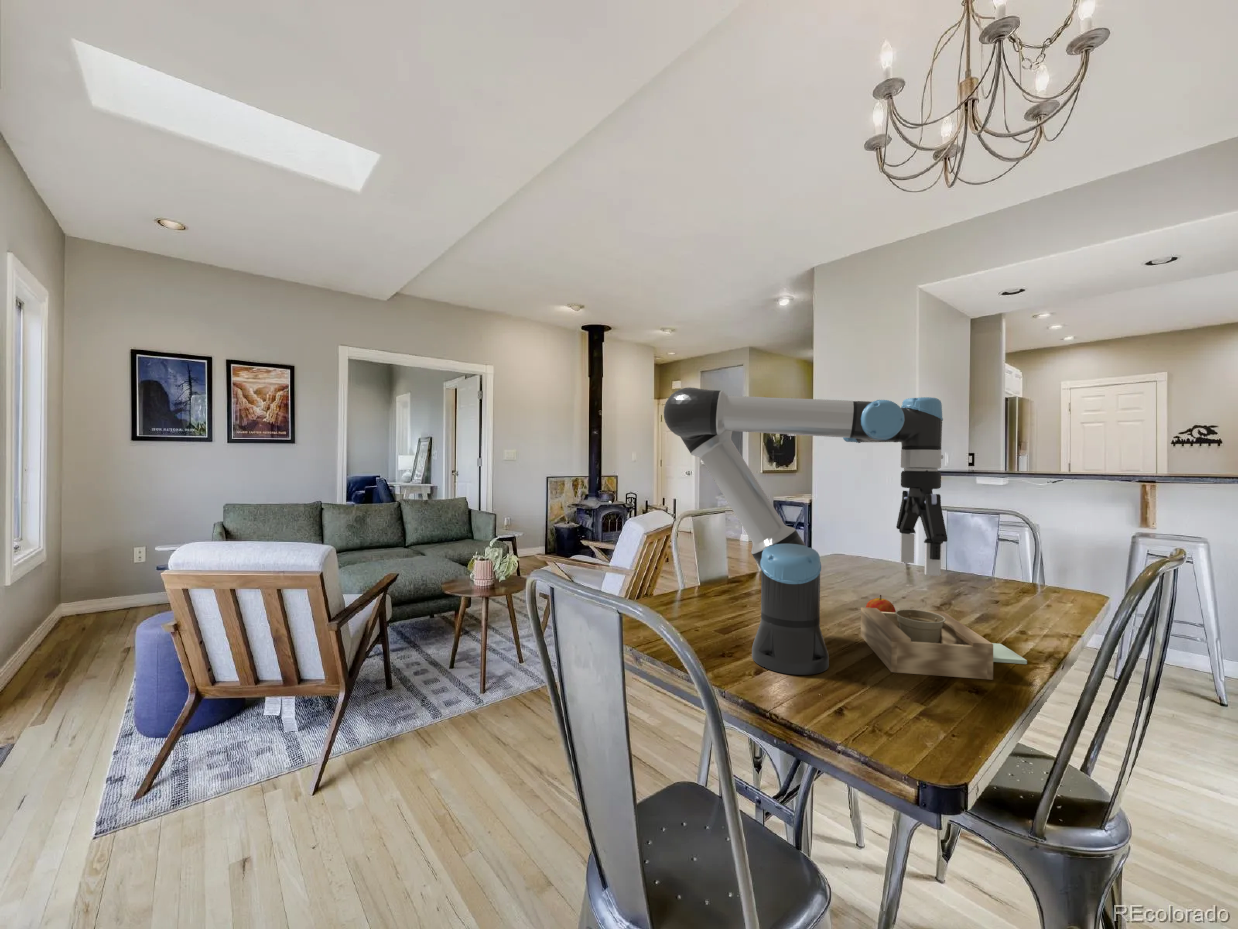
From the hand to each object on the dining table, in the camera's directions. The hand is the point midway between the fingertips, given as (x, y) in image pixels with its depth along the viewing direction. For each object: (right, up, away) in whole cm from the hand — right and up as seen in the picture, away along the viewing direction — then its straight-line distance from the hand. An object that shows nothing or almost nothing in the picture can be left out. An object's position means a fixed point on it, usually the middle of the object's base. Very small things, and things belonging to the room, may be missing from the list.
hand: (918, 568), depth 112 cm
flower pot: (0, -19, 0) cm, 19 cm away
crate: (0, -19, 0) cm, 19 cm away
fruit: (+1, -19, +20) cm, 27 cm away
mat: (+15, -19, +1) cm, 24 cm away
